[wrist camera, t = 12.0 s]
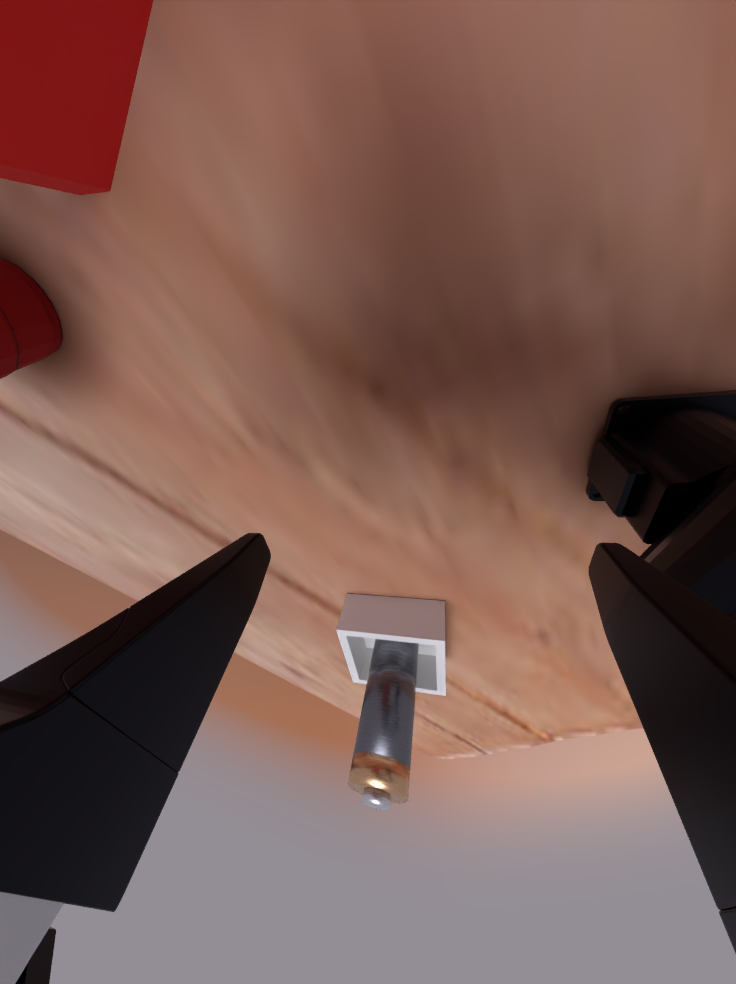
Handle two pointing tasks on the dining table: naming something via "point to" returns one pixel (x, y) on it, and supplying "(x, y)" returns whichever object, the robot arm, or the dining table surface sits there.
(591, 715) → the dining table surface
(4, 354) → the plastic cup
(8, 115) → the book
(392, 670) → the battery cell
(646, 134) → the dining table surface
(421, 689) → the bin
